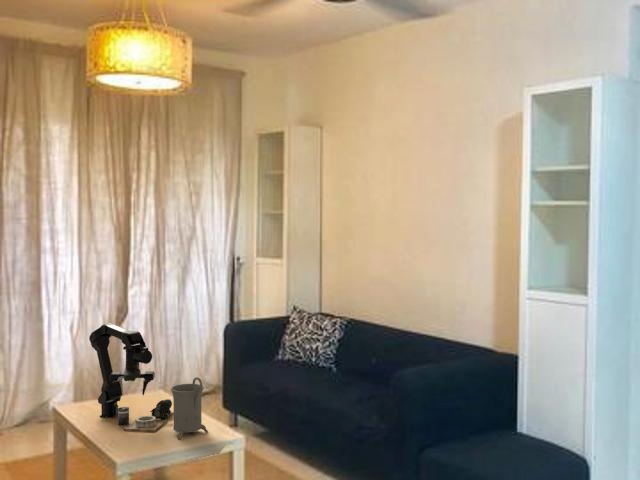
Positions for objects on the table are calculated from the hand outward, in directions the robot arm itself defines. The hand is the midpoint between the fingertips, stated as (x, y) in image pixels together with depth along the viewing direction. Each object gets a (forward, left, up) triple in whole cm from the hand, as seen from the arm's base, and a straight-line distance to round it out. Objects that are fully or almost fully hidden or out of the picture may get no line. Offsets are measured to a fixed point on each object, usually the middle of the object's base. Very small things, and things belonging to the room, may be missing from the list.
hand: (132, 395), depth 294 cm
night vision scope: (+10, +10, -13) cm, 19 cm away
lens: (-3, -2, -12) cm, 13 cm away
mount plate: (+8, -4, -12) cm, 15 cm away
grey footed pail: (+30, -11, -12) cm, 34 cm away
